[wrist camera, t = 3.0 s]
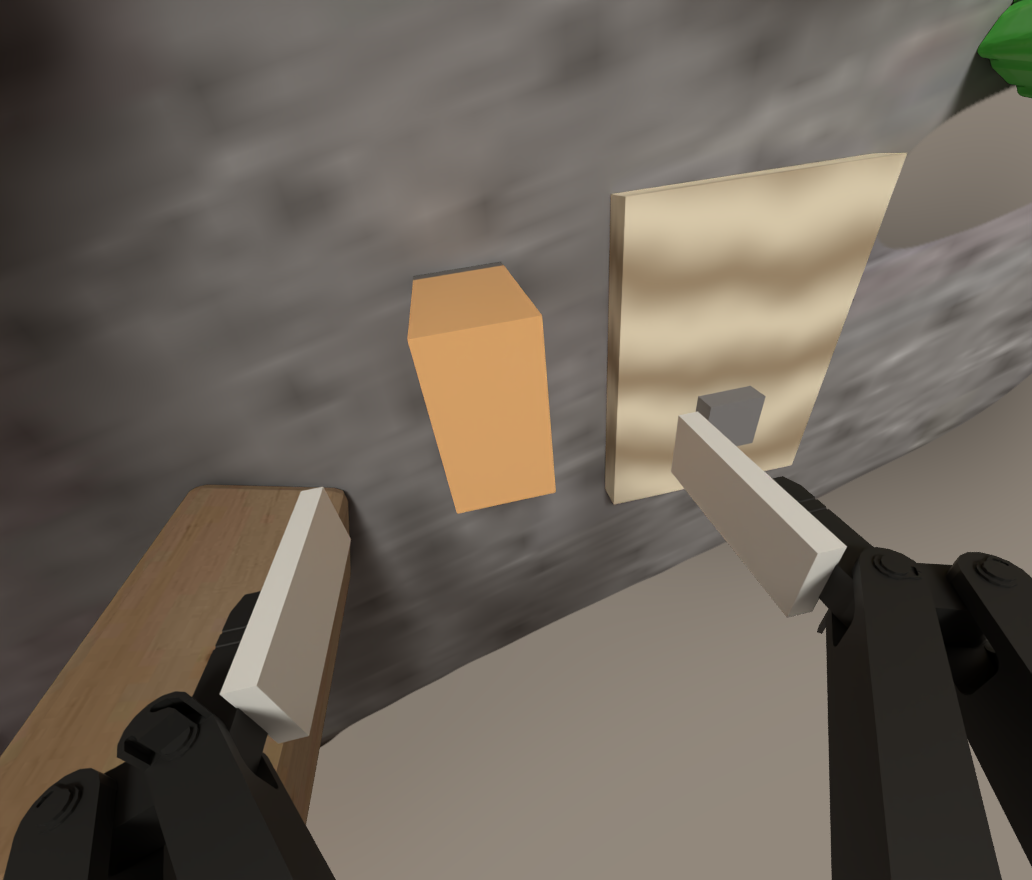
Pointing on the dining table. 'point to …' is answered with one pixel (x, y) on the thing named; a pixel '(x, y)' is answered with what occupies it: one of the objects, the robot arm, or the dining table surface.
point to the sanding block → (483, 383)
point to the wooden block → (165, 646)
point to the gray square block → (733, 412)
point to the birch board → (731, 303)
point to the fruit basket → (1012, 46)
